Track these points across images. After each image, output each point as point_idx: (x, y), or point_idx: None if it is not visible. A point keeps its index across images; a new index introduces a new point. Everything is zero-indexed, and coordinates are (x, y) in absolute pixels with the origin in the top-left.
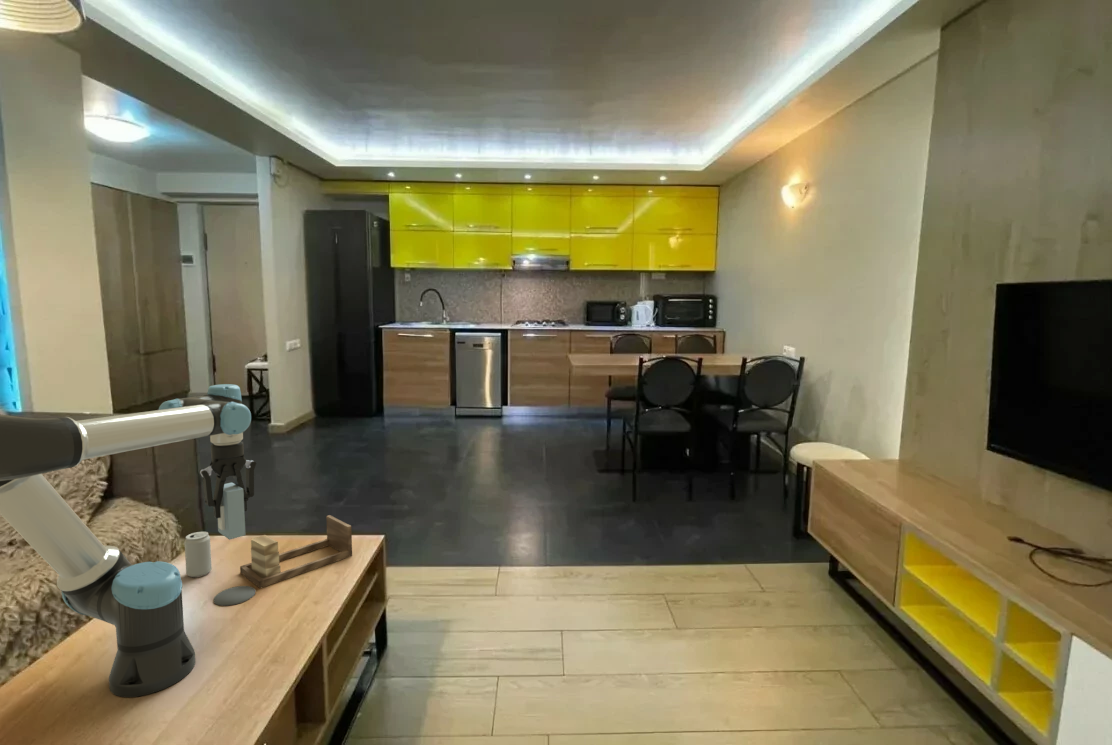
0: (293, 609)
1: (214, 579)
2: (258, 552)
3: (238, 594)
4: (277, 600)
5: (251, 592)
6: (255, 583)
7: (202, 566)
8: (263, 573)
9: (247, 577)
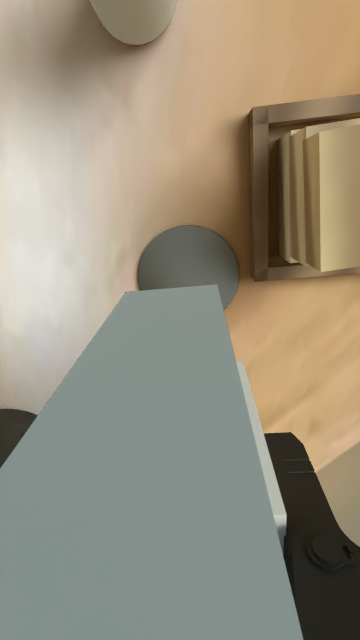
0: (265, 422)
1: (169, 107)
2: (305, 211)
3: (195, 281)
4: (257, 366)
5: (224, 294)
6: (251, 247)
7: (135, 29)
8: (285, 237)
9: (250, 181)
